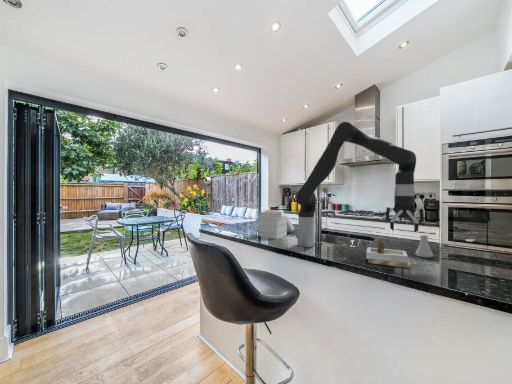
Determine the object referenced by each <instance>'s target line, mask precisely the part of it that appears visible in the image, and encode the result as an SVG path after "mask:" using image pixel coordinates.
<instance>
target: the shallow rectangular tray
mask: <svg viewBox="0 0 512 384" xmlns="http://www.w3.org/2000/svg"><path fill="white" fill-rule="evenodd" d="M366 248H367V249H366V253H365V254H366V257H365V258H366V259H367V260H368V259H374V260H382V261H391V262H400V263H408V260H409V256H408V254H407V251H406V250H400V249H399V250H398V249H389V248H384V253H378V247H368V246H367V247H366Z"/></svg>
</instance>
